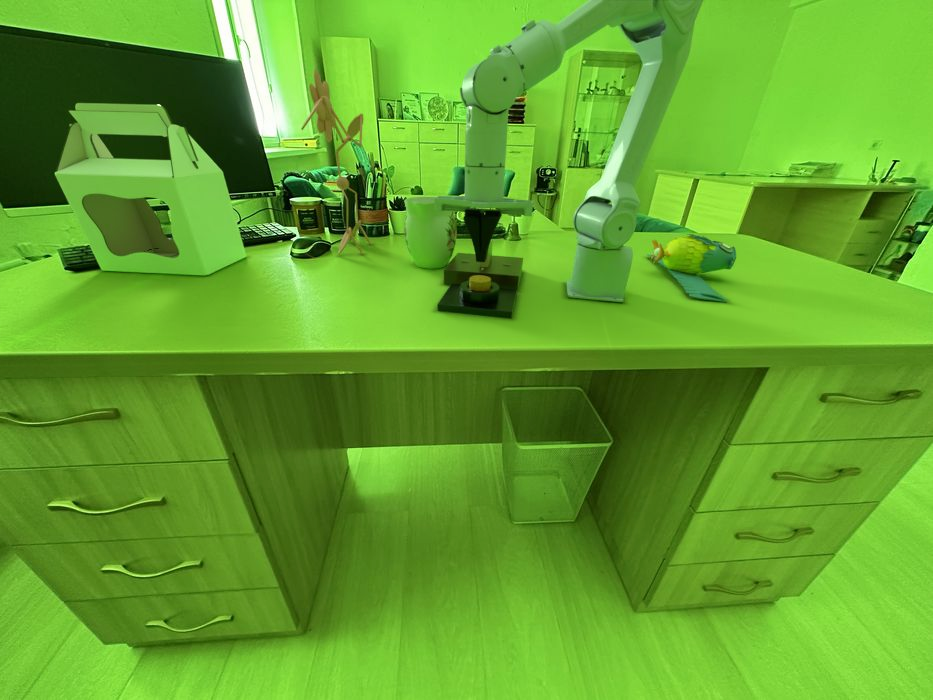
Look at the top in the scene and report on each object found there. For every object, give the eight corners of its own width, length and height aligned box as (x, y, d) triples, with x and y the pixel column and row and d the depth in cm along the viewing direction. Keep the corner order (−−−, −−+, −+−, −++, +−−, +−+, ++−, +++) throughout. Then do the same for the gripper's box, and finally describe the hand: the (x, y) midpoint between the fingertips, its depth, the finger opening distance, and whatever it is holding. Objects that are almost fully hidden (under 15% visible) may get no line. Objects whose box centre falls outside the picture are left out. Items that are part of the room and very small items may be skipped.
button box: (516, 295, 66) (518, 279, 64) (511, 318, 58) (513, 300, 56) (451, 289, 68) (451, 273, 66) (437, 311, 59) (437, 293, 58)
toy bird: (640, 218, 86) (708, 223, 85) (630, 255, 90) (695, 260, 89) (686, 249, 62) (782, 257, 61) (669, 297, 66) (758, 305, 65)
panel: (521, 271, 78) (523, 256, 76) (517, 291, 68) (519, 275, 66) (457, 266, 80) (457, 251, 79) (443, 284, 70) (443, 268, 68)
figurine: (381, 237, 101) (366, 80, 84) (358, 265, 79) (331, 60, 62) (325, 235, 101) (299, 79, 84) (286, 263, 79) (239, 57, 61)
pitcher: (461, 253, 89) (462, 192, 82) (451, 277, 74) (451, 204, 67) (416, 250, 90) (414, 190, 83) (397, 274, 75) (392, 202, 68)
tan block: (483, 258, 75) (484, 237, 73) (491, 259, 75) (492, 238, 72) (479, 266, 70) (480, 244, 68) (487, 267, 70) (488, 245, 68)
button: (491, 285, 63) (492, 276, 62) (488, 293, 60) (489, 283, 59) (471, 284, 63) (471, 274, 62) (467, 291, 60) (467, 281, 59)
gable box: (99, 271, 72) (15, 99, 58) (154, 252, 84) (94, 105, 70) (208, 276, 71) (148, 102, 57) (248, 257, 82) (207, 108, 68)
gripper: (427, 166, 50) (430, 264, 57) (535, 169, 48) (525, 271, 54) (441, 163, 56) (442, 251, 63) (537, 166, 54) (527, 258, 60)
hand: (481, 260), depth 59 cm, fingers closed
